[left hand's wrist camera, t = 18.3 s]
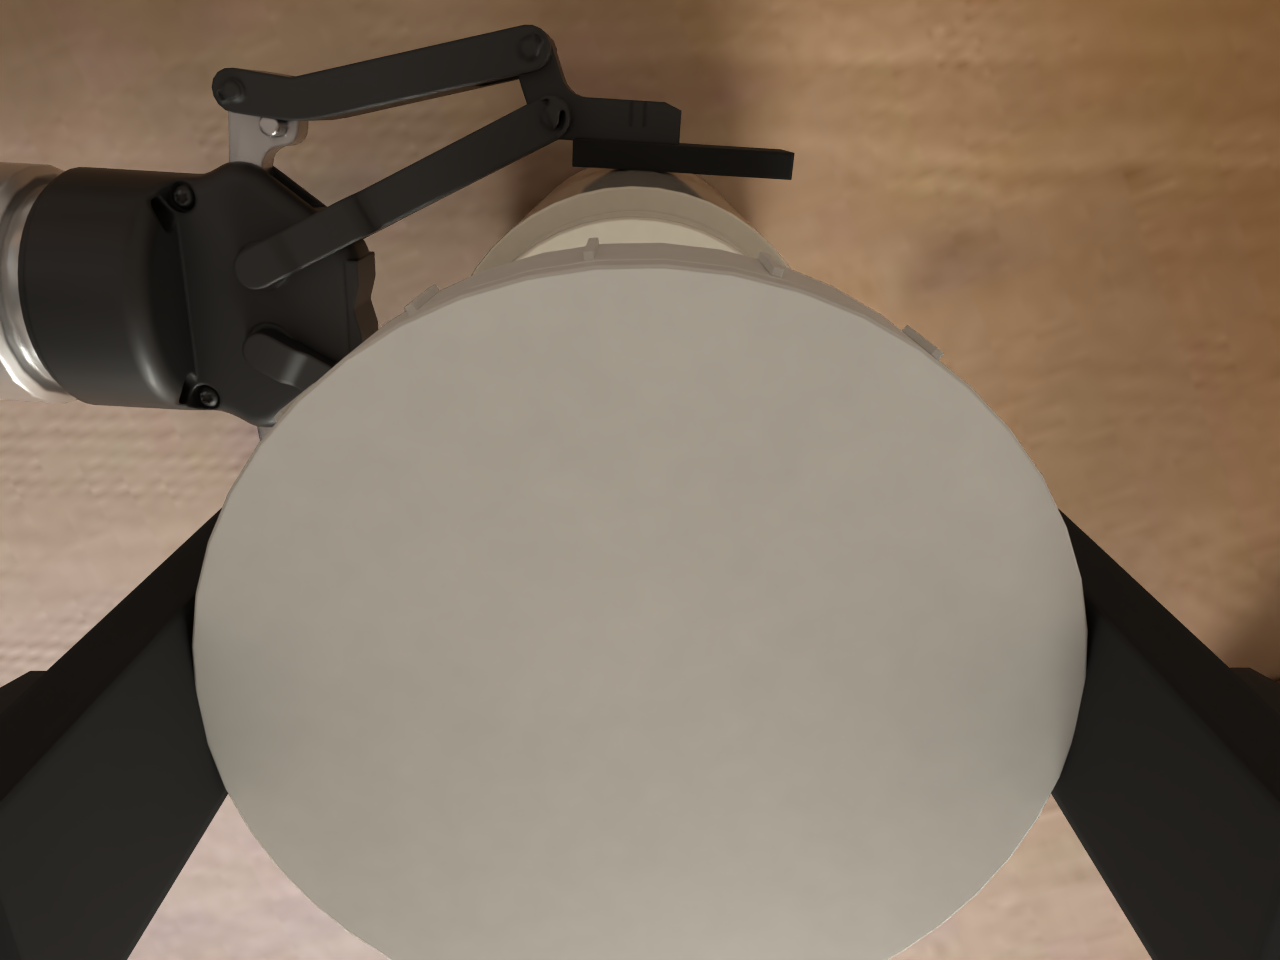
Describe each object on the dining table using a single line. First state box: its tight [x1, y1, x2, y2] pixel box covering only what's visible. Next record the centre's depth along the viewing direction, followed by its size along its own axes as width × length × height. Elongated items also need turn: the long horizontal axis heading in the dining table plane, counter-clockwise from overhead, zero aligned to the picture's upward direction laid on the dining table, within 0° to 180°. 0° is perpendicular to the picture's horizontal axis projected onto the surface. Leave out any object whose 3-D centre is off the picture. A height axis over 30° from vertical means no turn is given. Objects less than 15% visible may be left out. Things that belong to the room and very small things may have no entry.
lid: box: [192, 237, 1088, 960], centre depth 11 cm, size 10×10×2 cm
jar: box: [471, 167, 790, 276], centre depth 28 cm, size 10×10×15 cm
